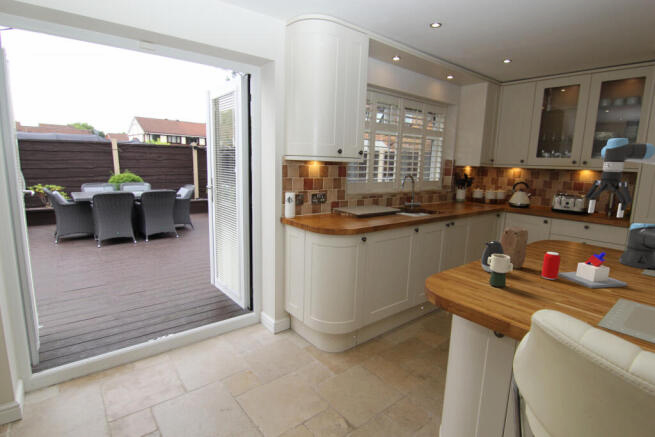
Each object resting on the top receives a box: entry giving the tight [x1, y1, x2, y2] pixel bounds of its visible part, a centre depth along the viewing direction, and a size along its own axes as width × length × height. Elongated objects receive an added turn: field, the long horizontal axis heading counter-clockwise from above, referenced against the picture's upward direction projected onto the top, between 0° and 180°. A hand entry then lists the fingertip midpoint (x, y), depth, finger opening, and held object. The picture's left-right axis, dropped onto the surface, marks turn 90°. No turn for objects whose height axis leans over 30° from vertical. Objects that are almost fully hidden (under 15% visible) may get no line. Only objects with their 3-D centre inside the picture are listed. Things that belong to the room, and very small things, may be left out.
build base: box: [558, 262, 628, 289], centre depth 149 cm, size 20×16×7 cm
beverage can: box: [541, 251, 561, 281], centre depth 150 cm, size 6×6×12 cm
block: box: [500, 226, 529, 270], centre depth 165 cm, size 11×8×20 cm
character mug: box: [488, 254, 514, 288], centre depth 138 cm, size 11×7×13 cm, turn 30°
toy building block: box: [584, 251, 607, 267], centre depth 147 cm, size 4×4×8 cm
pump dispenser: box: [480, 240, 504, 274], centre depth 156 cm, size 10×10×15 cm
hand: (604, 214), depth 161 cm, fingers open, 13 cm apart
